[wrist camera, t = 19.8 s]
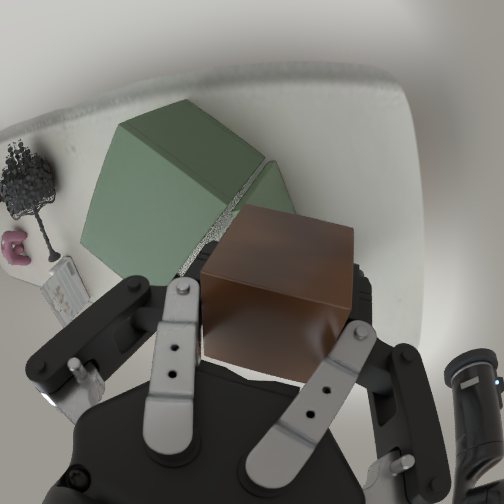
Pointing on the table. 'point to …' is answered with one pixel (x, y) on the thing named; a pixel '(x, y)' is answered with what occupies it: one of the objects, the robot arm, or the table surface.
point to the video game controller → (14, 253)
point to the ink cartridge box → (65, 290)
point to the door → (268, 193)
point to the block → (277, 292)
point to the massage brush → (27, 187)
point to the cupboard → (164, 190)
